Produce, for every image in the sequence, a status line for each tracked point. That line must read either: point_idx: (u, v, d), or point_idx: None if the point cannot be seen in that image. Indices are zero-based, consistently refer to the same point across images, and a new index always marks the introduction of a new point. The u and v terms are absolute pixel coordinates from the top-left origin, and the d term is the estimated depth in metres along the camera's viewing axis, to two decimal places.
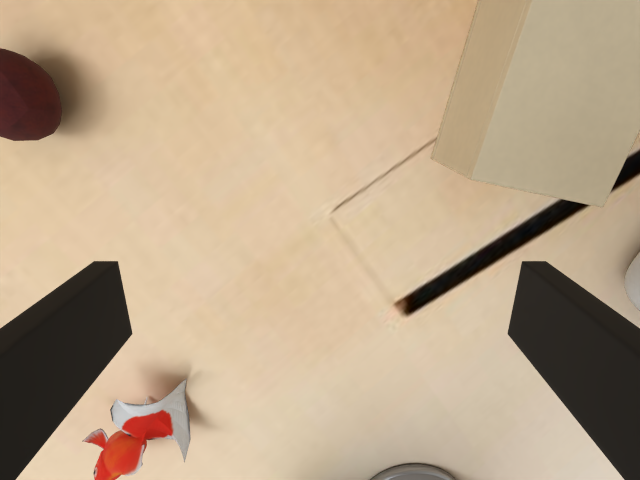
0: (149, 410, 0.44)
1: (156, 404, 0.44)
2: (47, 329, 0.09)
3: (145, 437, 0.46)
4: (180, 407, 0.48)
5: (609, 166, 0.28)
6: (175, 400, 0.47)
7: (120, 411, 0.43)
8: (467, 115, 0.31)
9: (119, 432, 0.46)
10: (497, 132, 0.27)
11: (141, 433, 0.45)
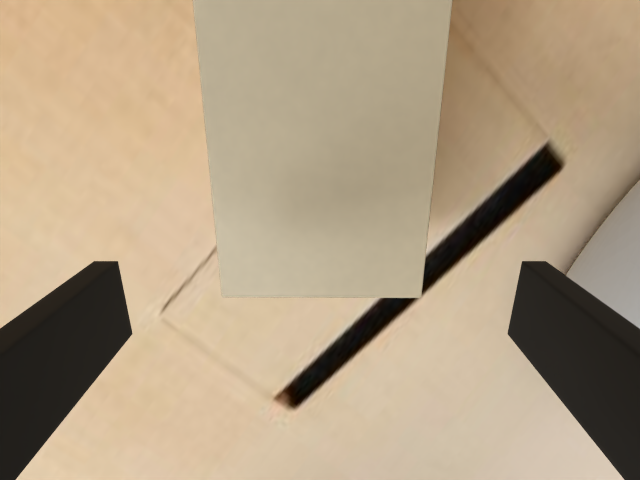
0: None
1: None
2: (47, 329, 0.09)
3: None
4: None
5: (407, 245, 0.19)
6: None
7: None
8: None
9: None
10: (230, 233, 0.19)
11: None
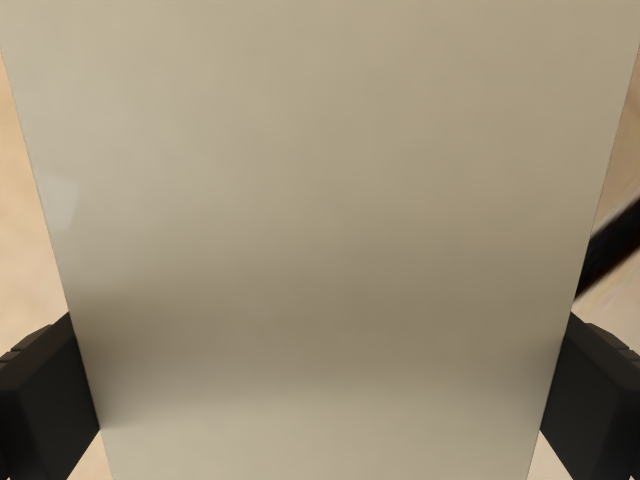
0: None
1: None
2: None
3: None
4: None
5: (504, 412, 0.09)
6: None
7: None
8: None
9: None
10: (120, 390, 0.09)
11: None
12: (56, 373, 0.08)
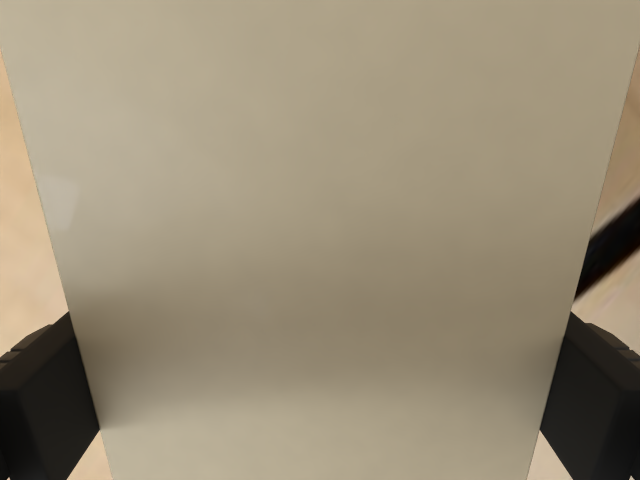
0: None
1: None
2: None
3: None
4: None
5: (504, 412, 0.09)
6: None
7: None
8: None
9: None
10: (120, 390, 0.09)
11: None
12: (56, 373, 0.08)
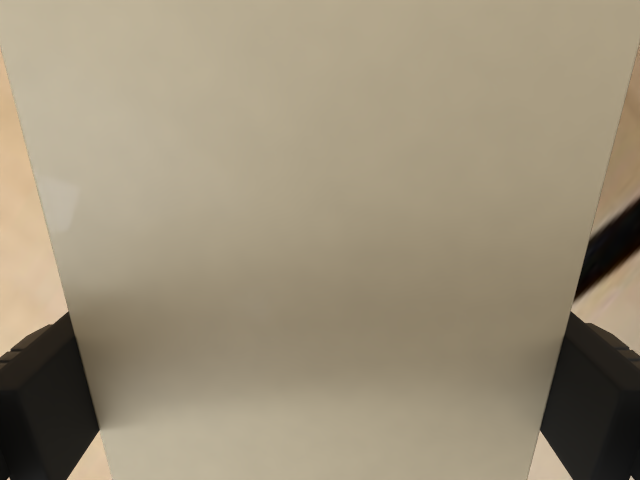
0: None
1: None
2: None
3: None
4: None
5: (504, 412, 0.09)
6: None
7: None
8: None
9: None
10: (119, 390, 0.09)
11: None
12: (56, 373, 0.08)
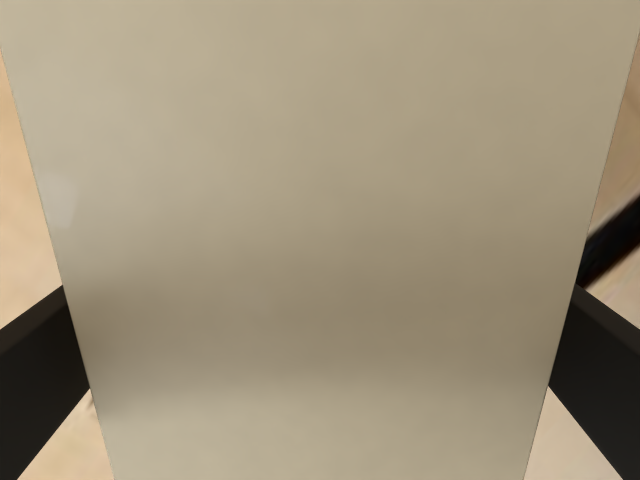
0: None
1: None
2: (49, 328, 0.09)
3: None
4: None
5: (504, 399, 0.09)
6: None
7: None
8: None
9: None
10: (117, 377, 0.09)
11: None
12: None
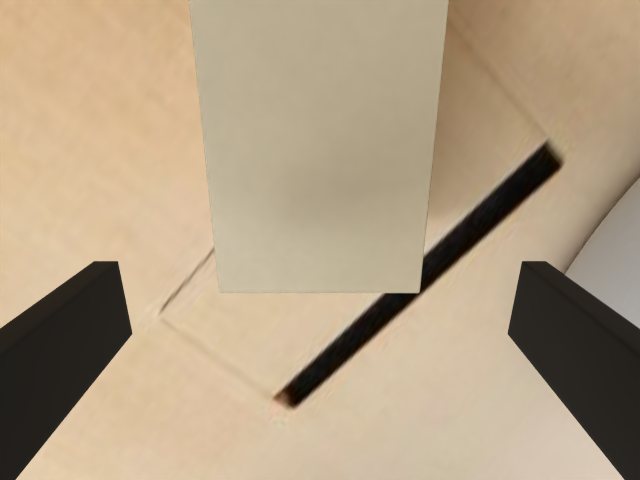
0: None
1: None
2: (47, 329, 0.09)
3: None
4: None
5: (405, 240, 0.19)
6: None
7: None
8: None
9: None
10: (226, 228, 0.19)
11: None
12: None
